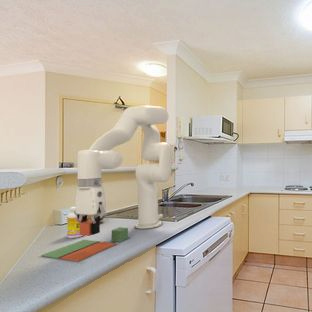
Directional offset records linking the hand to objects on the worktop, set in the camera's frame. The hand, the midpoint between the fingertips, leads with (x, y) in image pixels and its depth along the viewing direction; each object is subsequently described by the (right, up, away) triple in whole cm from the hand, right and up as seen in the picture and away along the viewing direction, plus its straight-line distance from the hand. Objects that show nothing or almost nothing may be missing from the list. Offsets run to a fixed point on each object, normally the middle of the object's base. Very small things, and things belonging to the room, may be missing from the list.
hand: (89, 232), depth 85 cm
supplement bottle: (-17, -8, +18) cm, 26 cm away
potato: (-22, -8, +38) cm, 45 cm away
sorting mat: (-4, -7, +1) cm, 8 cm away
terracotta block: (0, 0, 0) cm, 0 cm away
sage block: (+5, -7, +12) cm, 15 cm away
